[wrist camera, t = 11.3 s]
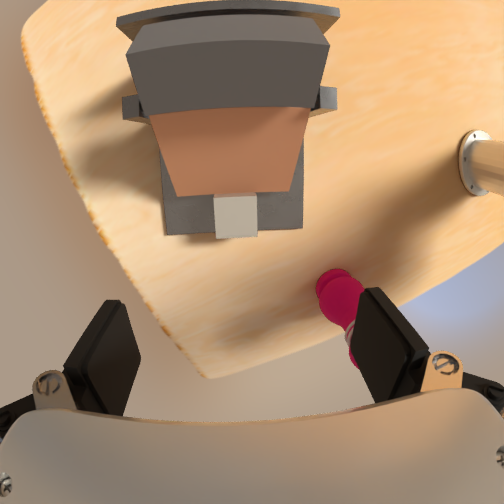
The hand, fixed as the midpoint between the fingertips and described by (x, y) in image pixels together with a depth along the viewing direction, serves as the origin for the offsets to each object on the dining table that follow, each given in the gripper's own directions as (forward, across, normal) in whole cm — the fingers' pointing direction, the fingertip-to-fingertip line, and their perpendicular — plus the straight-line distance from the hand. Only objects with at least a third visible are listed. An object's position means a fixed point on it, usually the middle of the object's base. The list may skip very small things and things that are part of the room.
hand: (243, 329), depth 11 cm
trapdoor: (+20, 0, -10) cm, 23 cm away
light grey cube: (+26, 0, 0) cm, 26 cm away
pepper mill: (+30, -15, +15) cm, 37 cm away
